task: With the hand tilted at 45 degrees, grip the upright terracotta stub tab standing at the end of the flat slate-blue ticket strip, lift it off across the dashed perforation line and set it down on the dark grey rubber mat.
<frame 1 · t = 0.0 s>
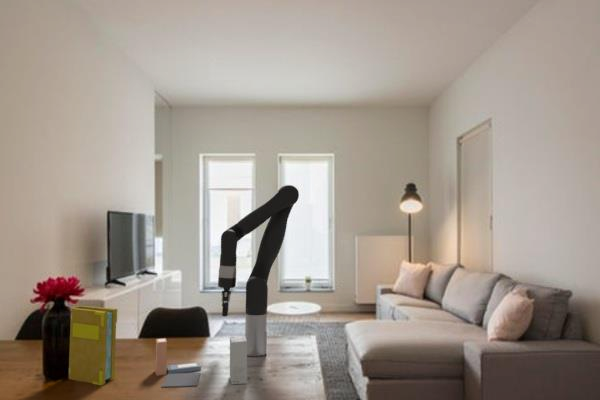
hand: (225, 313, 185), 17 cm above the table, tool pointing down, fingers open, 8 cm apart
ticket: (183, 369, 165), on the table
stub: (160, 372, 162), on the table
book: (89, 379, 155), on the table
skincare box: (238, 380, 156), on the table
mat: (181, 380, 155), on the table
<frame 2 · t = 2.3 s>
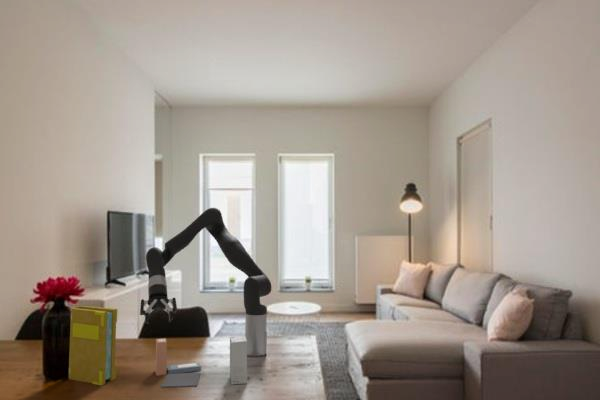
hand: (159, 322, 173), 16 cm above the table, tool tilted 45°, fingers open, 8 cm apart
nothing on the table moved.
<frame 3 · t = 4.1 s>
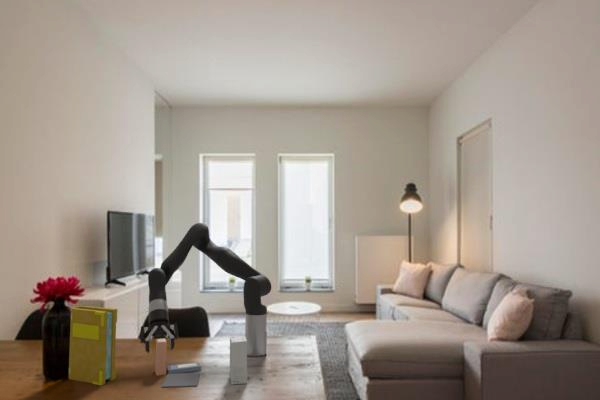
hand: (160, 350, 165), 7 cm above the table, tool tilted 45°, fingers open, 8 cm apart
nothing on the table moved.
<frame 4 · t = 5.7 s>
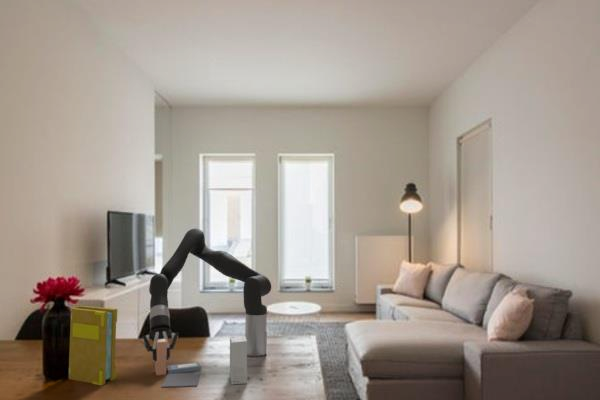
hand: (161, 359, 160), 6 cm above the table, tool tilted 45°, fingers closed on stub, 3 cm apart
stub: (160, 372, 162), on the table, touching gripper
everything else where it was.
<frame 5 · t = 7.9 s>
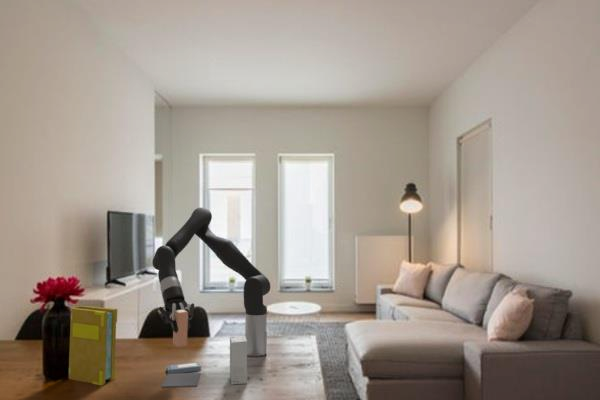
hand: (182, 330, 155), 18 cm above the table, tool tilted 45°, fingers closed on stub, 3 cm apart
stub: (179, 344, 156), point 12 cm above the table, touching gripper
everything else where it was.
when the fingers open (7 cm above the table, at t = 10.4 s): stub drops 1 cm, resting on mat.
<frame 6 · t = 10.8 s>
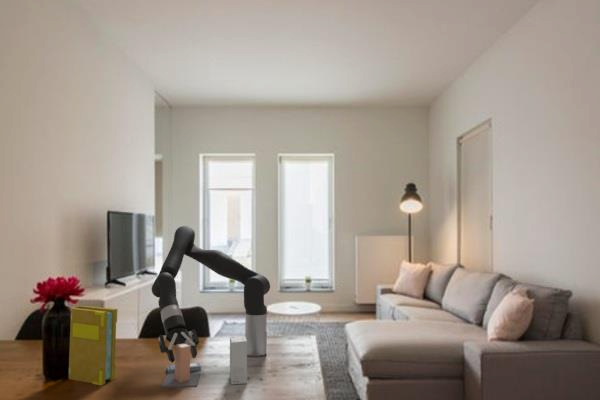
hand: (184, 359, 154), 8 cm above the table, tool tilted 45°, fingers open, 7 cm apart
stub: (182, 379, 155), resting on mat
everything else where it was.
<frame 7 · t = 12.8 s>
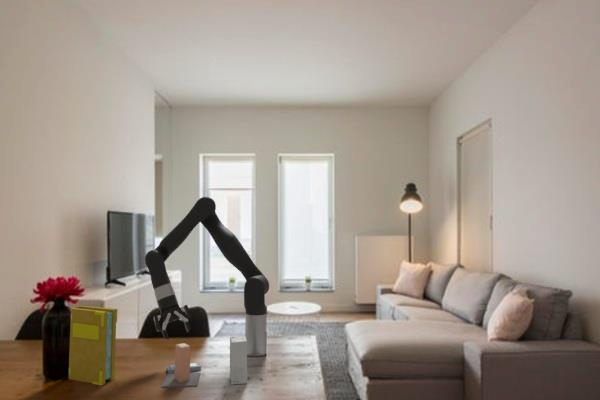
hand: (178, 335, 173), 11 cm above the table, tool tilted 25°, fingers open, 8 cm apart
nothing on the table moved.
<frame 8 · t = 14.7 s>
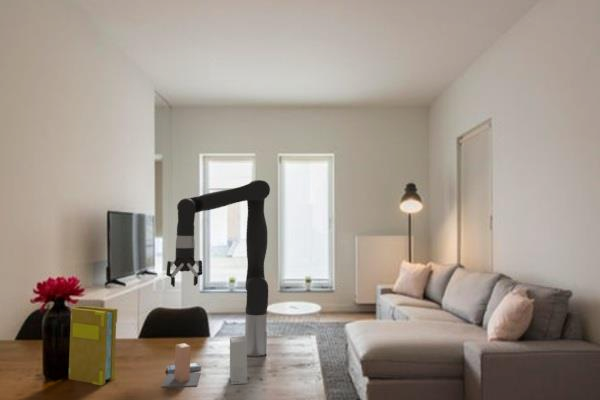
hand: (184, 286, 178), 30 cm above the table, tool pointing down, fingers open, 8 cm apart
nothing on the table moved.
at the end: stub 0.1 cm from the mat (horizontally); stub resting on mat; stub tilted 0° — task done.
